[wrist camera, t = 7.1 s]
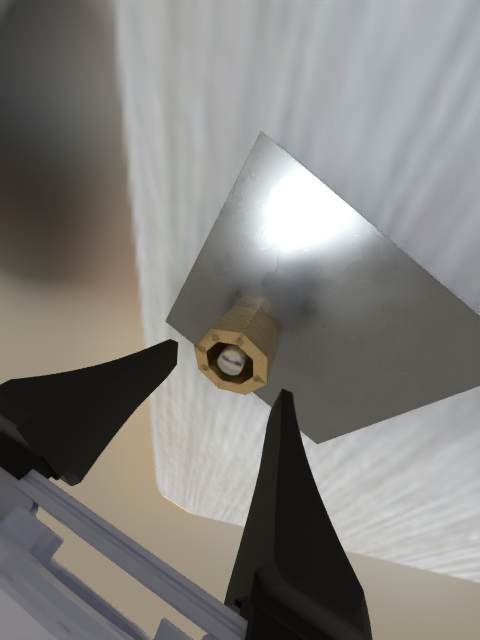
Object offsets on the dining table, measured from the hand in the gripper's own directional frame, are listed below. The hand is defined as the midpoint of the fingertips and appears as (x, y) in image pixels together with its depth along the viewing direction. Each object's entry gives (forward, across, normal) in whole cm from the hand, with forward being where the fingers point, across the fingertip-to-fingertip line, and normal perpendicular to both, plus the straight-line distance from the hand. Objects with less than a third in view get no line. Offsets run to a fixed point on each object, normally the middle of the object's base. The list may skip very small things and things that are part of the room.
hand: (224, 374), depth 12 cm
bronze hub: (+5, 0, 0) cm, 5 cm away
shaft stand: (+6, -4, -2) cm, 8 cm away
